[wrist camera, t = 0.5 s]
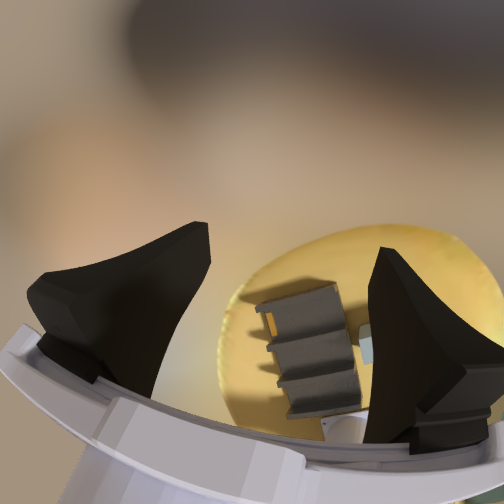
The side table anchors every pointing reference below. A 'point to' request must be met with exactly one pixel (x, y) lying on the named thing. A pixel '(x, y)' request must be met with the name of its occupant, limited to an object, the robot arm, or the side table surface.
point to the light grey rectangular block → (366, 343)
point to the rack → (313, 352)
